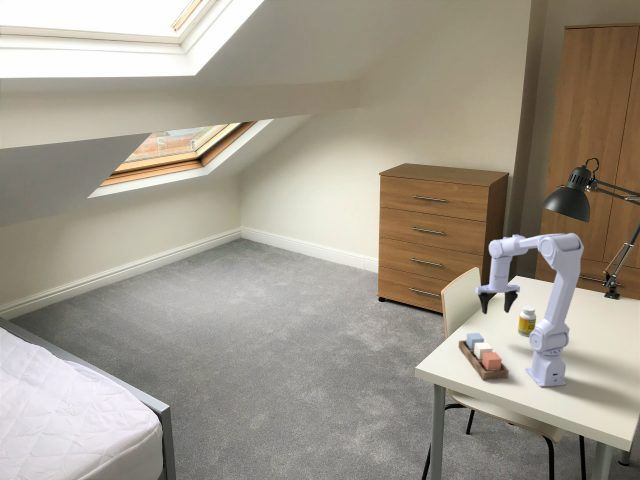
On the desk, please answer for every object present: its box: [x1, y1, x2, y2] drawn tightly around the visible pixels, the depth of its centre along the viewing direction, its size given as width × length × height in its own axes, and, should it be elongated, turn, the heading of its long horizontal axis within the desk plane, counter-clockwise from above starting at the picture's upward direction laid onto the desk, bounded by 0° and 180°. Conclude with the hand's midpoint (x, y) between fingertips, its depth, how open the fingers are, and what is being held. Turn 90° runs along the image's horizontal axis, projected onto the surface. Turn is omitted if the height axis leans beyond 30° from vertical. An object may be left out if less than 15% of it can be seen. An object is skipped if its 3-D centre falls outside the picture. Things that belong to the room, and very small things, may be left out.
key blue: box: [466, 332, 485, 350], centre depth 171 cm, size 4×4×4 cm
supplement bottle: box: [517, 305, 537, 337], centre depth 183 cm, size 5×5×10 cm
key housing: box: [458, 339, 510, 381], centre depth 166 cm, size 19×8×2 cm, turn 7°
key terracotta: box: [481, 351, 503, 371], centre depth 159 cm, size 4×4×4 cm
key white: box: [473, 341, 493, 360], centre depth 165 cm, size 4×4×4 cm
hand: (495, 312), depth 178 cm, fingers open, 7 cm apart
